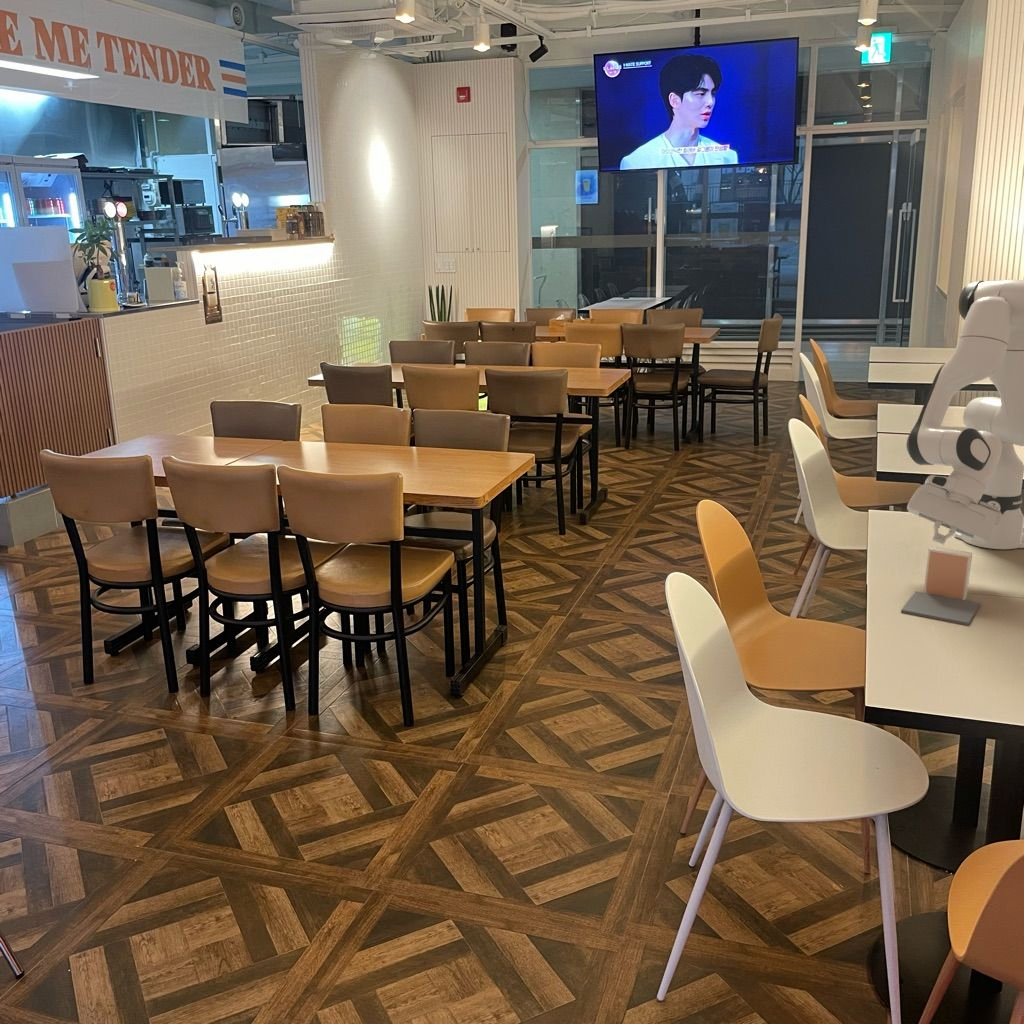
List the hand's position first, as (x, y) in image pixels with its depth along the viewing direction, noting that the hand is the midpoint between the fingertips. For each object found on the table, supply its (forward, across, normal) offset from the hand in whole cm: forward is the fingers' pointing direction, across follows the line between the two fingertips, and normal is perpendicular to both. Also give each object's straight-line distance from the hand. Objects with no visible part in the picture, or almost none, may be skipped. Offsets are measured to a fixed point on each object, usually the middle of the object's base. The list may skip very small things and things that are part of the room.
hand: (938, 541), depth 241 cm
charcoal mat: (+19, -7, +14) cm, 25 cm away
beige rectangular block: (+13, -6, +6) cm, 16 cm away
